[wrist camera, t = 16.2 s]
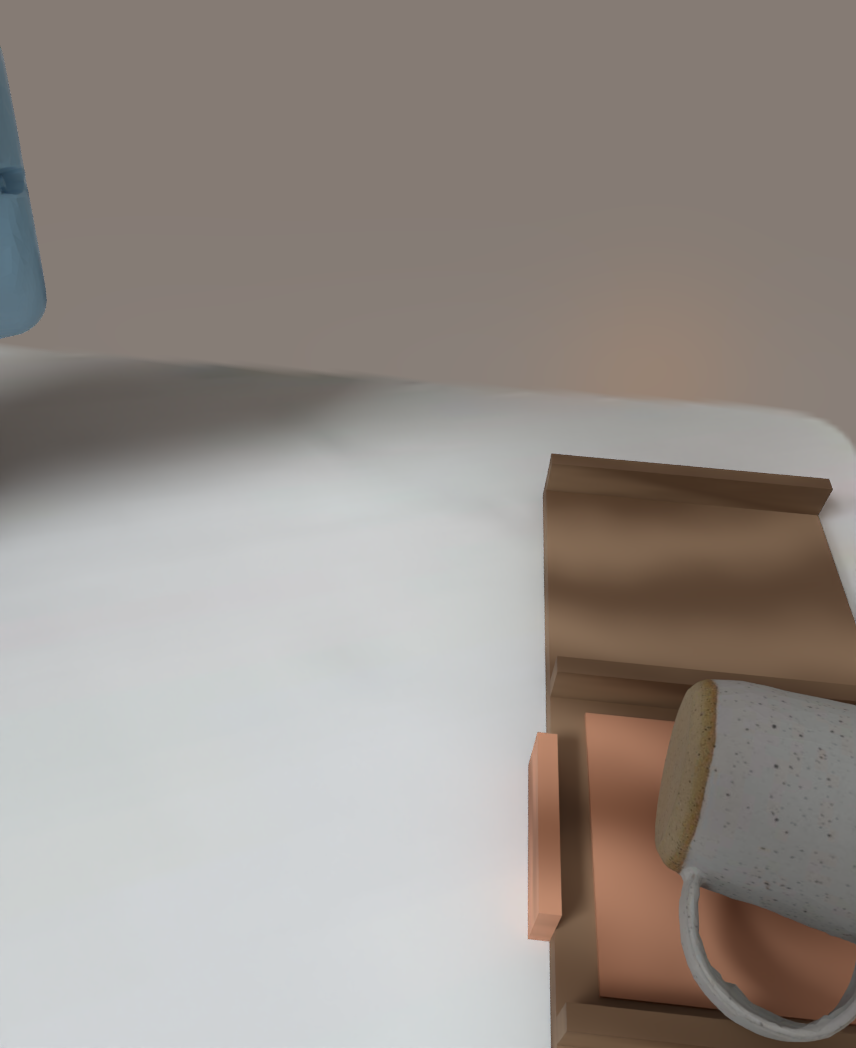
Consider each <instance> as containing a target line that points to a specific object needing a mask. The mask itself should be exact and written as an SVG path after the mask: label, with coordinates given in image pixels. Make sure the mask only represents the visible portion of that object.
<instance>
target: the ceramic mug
mask: <svg viewBox="0 0 856 1048" xmlns="http://www.w3.org/2000/svg"><path fill="white" fill-rule="evenodd" d="M655 845H656V850H657V852H658V854H659V855H660V857H661V859H662V861H663V863H664V864H665V865H666V866H667V867H668V868H669V869H671V870H673V871H675V872H677V873H678V874H679V875H680V876H681V877H682V879H683V886H682V891H681V897H680V899H679V923H680V936H681V944H682V948H683V951H684V955H685V958H686V961H687V964H688V967H689V969H690V971H691V973H692V975H693V978H694V980H695V981H696V982H697V984H698V985H699V987H700V988H701V990H702V991H703V992H704V994H705V995H706V996H707V997H708V998H709V1000H710V1001H711V1002H712V1003H713V1004H714V1005H715V1006H716V1007H717V1008H718V1009H719V1010H720V1011H721V1012H722V1013H723V1014H724V1015H725V1016H727V1017H728V1018H729V1019H731V1020H732V1021H734V1022H735V1023H737V1024H739V1025H741V1026H743V1027H744V1028H746V1029H748V1030H750V1031H752V1032H754V1033H756V1034H759V1035H761V1036H764V1037H767V1038H771V1039H775V1040H779V1041H785V1042H810V1041H816V1040H821V1039H825V1038H829V1037H831V1036H832V1035H834V1034H836V1033H837V1032H839V1031H841V1030H842V1029H844V1028H845V1027H846V1026H848V1025H849V1024H850V1023H851V1022H852V1021H854V1020H855V1018H856V963H855V968H854V971H853V975H852V978H851V981H850V983H849V985H848V988H847V990H846V991H845V993H844V995H843V996H842V998H841V1000H840V1002H839V1003H838V1005H837V1006H836V1007H835V1008H834V1010H833V1011H831V1012H830V1013H829V1014H828V1015H824V1016H822V1017H821V1018H820V1019H818V1020H815V1021H813V1022H810V1023H808V1024H805V1023H798V1022H793V1021H791V1020H788V1019H785V1018H782V1017H780V1016H778V1015H776V1014H774V1013H772V1012H770V1011H768V1010H766V1009H764V1008H761V1007H759V1006H757V1005H755V1004H753V1003H752V1002H750V1001H749V1000H748V998H747V997H746V996H745V995H744V994H743V992H742V991H741V990H740V989H739V988H738V986H737V985H736V984H732V983H728V982H725V981H724V980H723V979H722V976H721V974H720V973H719V972H718V971H717V970H716V969H715V968H713V967H712V966H711V964H710V962H709V960H708V958H707V955H706V952H705V949H704V946H703V942H702V939H701V937H700V935H699V912H698V900H699V896H700V887H702V888H704V889H706V890H709V891H713V892H716V893H719V894H722V895H724V896H727V897H729V898H731V899H735V900H739V901H743V902H746V903H750V904H753V905H756V906H759V907H761V908H764V909H767V910H770V911H772V912H775V913H777V914H779V915H781V916H784V917H786V918H789V919H792V920H794V921H796V922H798V923H801V924H804V925H806V926H808V927H811V928H814V929H817V930H820V931H822V932H826V933H827V934H829V935H831V936H835V937H838V938H841V939H843V940H847V941H849V942H851V943H854V944H855V945H856V705H852V704H847V703H843V702H838V701H833V700H829V699H824V698H819V697H814V696H808V695H803V694H798V693H794V692H789V691H784V690H780V689H777V688H773V687H769V686H765V685H760V684H755V683H750V682H745V681H735V680H715V679H706V680H703V681H700V682H697V683H696V684H694V685H693V686H692V687H691V688H690V689H688V690H687V692H686V694H685V696H684V698H683V700H682V703H681V705H680V708H679V710H678V713H677V716H676V719H675V723H674V726H673V730H672V733H671V738H670V742H669V746H668V750H667V755H666V759H665V764H664V769H663V775H662V780H661V785H660V791H659V797H658V804H657V812H656V822H655Z"/></svg>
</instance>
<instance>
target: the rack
mask: <svg viewBox="0 0 856 1048" xmlns="http://www.w3.org/2000/svg"><path fill="white" fill-rule="evenodd" d="M832 490H833V488H832V486H831V483H830V480H829V479H823V478H812V477H801V476H790V475H779V474H768V473H757V472H747V471H736V470H725V469H714V468H703V467H692V466H681V465H670V464H659V463H648V462H637V461H626V460H615V459H604V458H593V457H583V456H572V455H561V454H551V459H550V464H549V469H548V474H547V479H546V483H545V488H544V493H543V528H544V597H545V665H546V733H541V732H538V733H537V736H536V740H535V743H534V747H533V751H532V754H531V758H530V761H529V765H528V939H533V940H542V941H550V1007H551V1048H856V1018H855V1020H854V1021H852V1022H851V1023H850V1024H849V1025H848V1026H846V1027H845V1028H844V1029H842V1030H841V1031H839V1032H837V1033H836V1034H834V1035H832V1036H831V1037H829V1038H825V1039H821V1040H816V1041H810V1042H785V1041H779V1040H775V1039H771V1038H767V1037H764V1036H761V1035H759V1034H756V1033H754V1032H752V1031H750V1030H748V1029H746V1028H744V1027H743V1026H741V1025H739V1024H737V1023H735V1022H734V1021H732V1020H731V1019H729V1018H728V1017H727V1016H725V1015H724V1014H723V1013H722V1012H721V1011H720V1010H719V1009H718V1008H717V1007H716V1006H715V1005H714V1004H713V1003H712V1002H711V1001H710V1000H709V998H708V997H707V996H706V995H705V994H704V992H703V991H702V990H701V988H700V987H699V985H698V984H697V982H696V981H695V980H694V978H693V975H692V973H691V971H690V969H689V967H688V964H687V961H686V958H685V955H684V951H683V948H682V944H681V936H680V923H679V899H680V897H681V891H682V886H683V879H682V877H681V876H680V875H679V874H678V873H677V872H675V871H673V870H671V869H669V868H668V867H667V866H666V865H665V864H664V863H663V861H662V859H661V857H660V855H659V854H658V852H657V850H656V845H655V822H656V812H657V804H658V797H659V791H660V785H661V780H662V775H663V769H664V764H665V759H666V755H667V750H668V746H669V742H670V738H671V733H672V730H673V726H674V723H675V719H676V716H677V713H678V710H679V708H680V705H681V703H682V700H683V698H684V696H685V694H686V692H687V690H688V689H690V688H691V687H692V686H693V685H694V684H696V683H697V682H700V681H703V680H706V679H715V680H735V681H745V682H750V683H755V684H760V685H765V686H769V687H773V688H777V689H780V690H784V691H789V692H794V693H798V694H803V695H808V696H814V697H819V698H824V699H829V700H833V701H838V702H843V703H847V704H852V705H856V624H855V621H854V618H853V615H852V612H851V609H850V607H849V604H848V601H847V598H846V595H845V592H844V589H843V586H842V583H841V580H840V577H839V575H838V572H837V569H836V566H835V563H834V560H833V557H832V554H831V551H830V548H829V546H828V543H827V540H826V537H825V534H824V531H823V528H822V525H821V522H820V519H819V517H818V515H819V513H820V511H821V509H822V508H823V506H824V504H825V502H826V500H827V499H828V497H829V495H830V493H831V492H832ZM698 912H699V935H700V937H701V939H702V942H703V946H704V949H705V952H706V955H707V958H708V960H709V962H710V964H711V966H712V967H713V968H715V969H716V970H717V971H718V972H719V973H720V974H721V976H722V979H723V980H724V981H725V982H728V983H732V984H736V985H737V986H738V988H739V989H740V990H741V991H742V992H743V994H744V995H745V996H746V997H747V998H748V1000H749V1001H750V1002H752V1003H753V1004H755V1005H757V1006H759V1007H761V1008H764V1009H766V1010H768V1011H770V1012H772V1013H774V1014H776V1015H778V1016H780V1017H782V1018H785V1019H788V1020H791V1021H793V1022H798V1023H805V1024H808V1023H810V1022H813V1021H815V1020H818V1019H820V1018H821V1017H822V1016H824V1015H828V1014H829V1013H830V1012H831V1011H833V1010H834V1008H835V1007H836V1006H837V1005H838V1003H839V1002H840V1000H841V998H842V996H843V995H844V993H845V991H846V990H847V988H848V985H849V983H850V981H851V978H852V975H853V971H854V968H855V963H856V945H855V944H854V943H851V942H849V941H847V940H843V939H841V938H838V937H835V936H831V935H829V934H827V933H826V932H822V931H820V930H817V929H814V928H811V927H808V926H806V925H804V924H801V923H798V922H796V921H794V920H792V919H789V918H786V917H784V916H781V915H779V914H777V913H775V912H772V911H770V910H767V909H764V908H761V907H759V906H756V905H753V904H750V903H746V902H743V901H739V900H735V899H731V898H729V897H727V896H724V895H722V894H719V893H716V892H713V891H709V890H706V889H704V888H702V887H700V896H699V900H698Z"/></svg>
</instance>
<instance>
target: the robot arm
mask: <svg viewBox="0 0 856 1048" xmlns="http://www.w3.org/2000/svg"><path fill="white" fill-rule="evenodd" d="M46 301H47V299H46V288H45V282H44V276H43V270H42V264H41V259H40V253H39V248H38V242H37V237H36V231H35V225H34V220H33V215H32V209H31V204H30V199H29V194H28V189H27V184H26V179H25V171H24V166H23V161H22V155H21V150H20V143H19V137H18V132H17V126H16V120H15V115H14V110H13V105H12V100H11V94H10V89H9V84H8V79H7V73H6V68H5V63H4V58H3V54H2V50H1V47H0V338H5V337H10V336H14V335H18V334H22V333H24V332H26V331H28V330H30V329H31V328H32V327H33V326H35V325H36V324H37V323H38V322H39V320H40V319H41V317H42V315H43V314H44V311H45V308H46Z"/></svg>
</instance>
